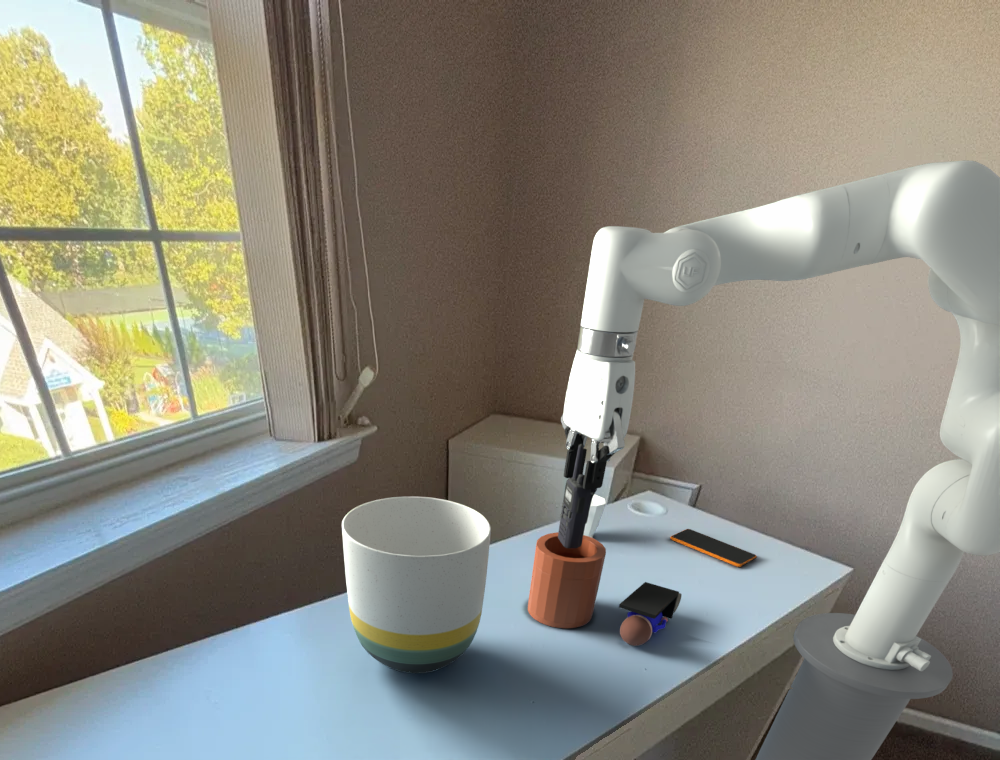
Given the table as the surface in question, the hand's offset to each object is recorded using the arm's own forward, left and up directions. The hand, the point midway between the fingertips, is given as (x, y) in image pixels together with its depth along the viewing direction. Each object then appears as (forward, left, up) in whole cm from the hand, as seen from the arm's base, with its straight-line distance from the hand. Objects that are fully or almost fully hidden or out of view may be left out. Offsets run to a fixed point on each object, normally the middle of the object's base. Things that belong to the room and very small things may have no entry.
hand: (582, 481), depth 96 cm
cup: (+24, -21, -23) cm, 39 cm away
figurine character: (-10, -10, -23) cm, 27 cm away
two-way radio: (0, 0, -10) cm, 10 cm away
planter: (-4, +29, -23) cm, 37 cm away
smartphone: (+10, -45, -23) cm, 51 cm away
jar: (0, 0, -23) cm, 23 cm away
